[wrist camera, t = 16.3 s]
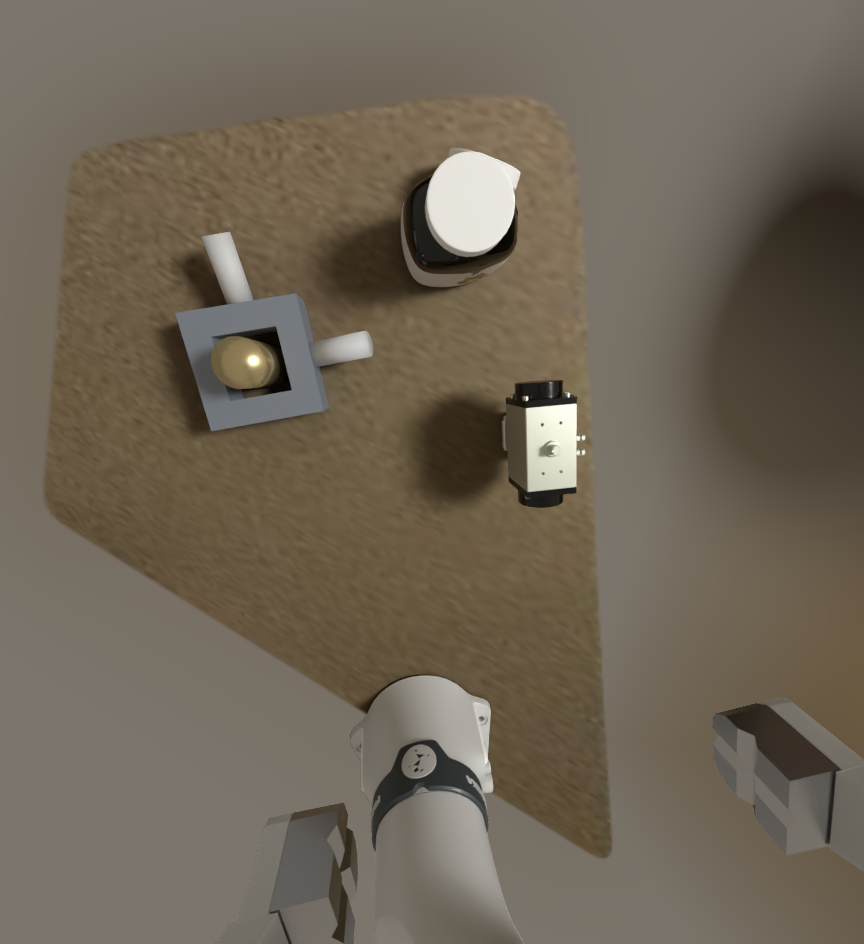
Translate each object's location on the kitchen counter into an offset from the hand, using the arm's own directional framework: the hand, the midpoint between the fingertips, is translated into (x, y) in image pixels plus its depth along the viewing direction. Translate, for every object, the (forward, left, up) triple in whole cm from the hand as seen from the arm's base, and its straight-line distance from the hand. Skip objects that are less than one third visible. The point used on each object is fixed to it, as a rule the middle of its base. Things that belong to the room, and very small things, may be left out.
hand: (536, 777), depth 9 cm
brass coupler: (+12, +14, -39) cm, 43 cm away
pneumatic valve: (0, -12, -39) cm, 41 cm away
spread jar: (+22, -8, -39) cm, 46 cm away
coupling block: (+15, +11, -39) cm, 43 cm away
